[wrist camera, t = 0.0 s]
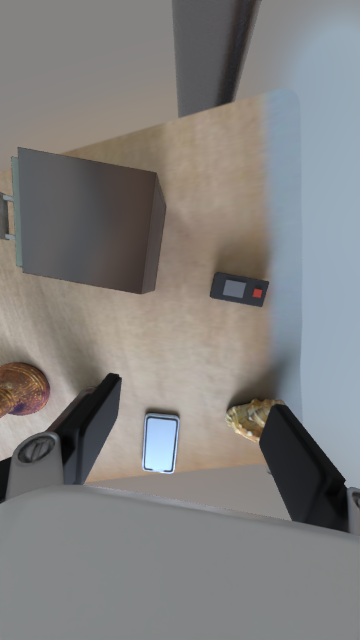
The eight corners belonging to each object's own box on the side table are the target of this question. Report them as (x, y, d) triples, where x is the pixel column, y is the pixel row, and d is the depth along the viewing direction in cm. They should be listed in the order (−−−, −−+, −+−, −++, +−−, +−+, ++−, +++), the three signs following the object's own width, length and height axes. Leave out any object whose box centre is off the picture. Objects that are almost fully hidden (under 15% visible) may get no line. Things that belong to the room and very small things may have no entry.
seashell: (228, 382, 38) (261, 393, 28) (258, 391, 40) (298, 405, 30) (219, 427, 36) (251, 455, 26) (251, 435, 37) (292, 464, 28)
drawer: (24, 263, 30) (-27, 258, 23) (21, 182, 27) (-38, 147, 20) (138, 284, 30) (123, 285, 23) (147, 205, 27) (133, 178, 20)
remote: (209, 296, 31) (211, 298, 28) (214, 272, 30) (217, 271, 27) (255, 305, 31) (262, 307, 28) (262, 281, 30) (270, 281, 27)
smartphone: (179, 418, 36) (173, 473, 39) (180, 414, 37) (174, 469, 40) (145, 414, 36) (142, 470, 39) (146, 411, 37) (143, 466, 40)
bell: (22, 417, 39) (-15, 448, 31) (-14, 374, 36) (-62, 397, 29) (62, 397, 37) (33, 424, 30) (27, 351, 35) (-14, 369, 28)
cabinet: (69, 274, 31) (22, 272, 22) (71, 189, 28) (17, 146, 19) (154, 290, 31) (141, 294, 22) (166, 206, 28) (156, 172, 19)
